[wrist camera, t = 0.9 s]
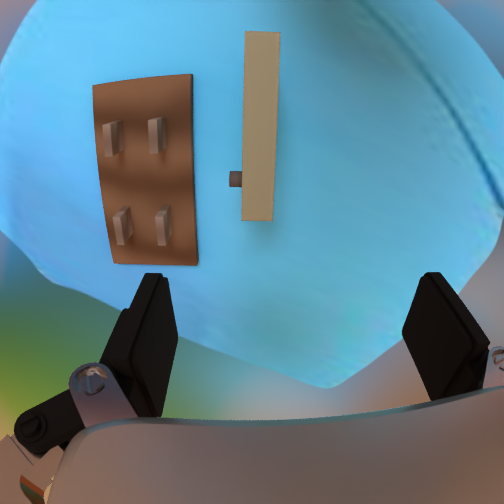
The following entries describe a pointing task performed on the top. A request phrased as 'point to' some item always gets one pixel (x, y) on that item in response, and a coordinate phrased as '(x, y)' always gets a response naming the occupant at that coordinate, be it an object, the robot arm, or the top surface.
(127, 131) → the hinge base
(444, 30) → the top surface
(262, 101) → the cabinet door
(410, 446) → the robot arm
